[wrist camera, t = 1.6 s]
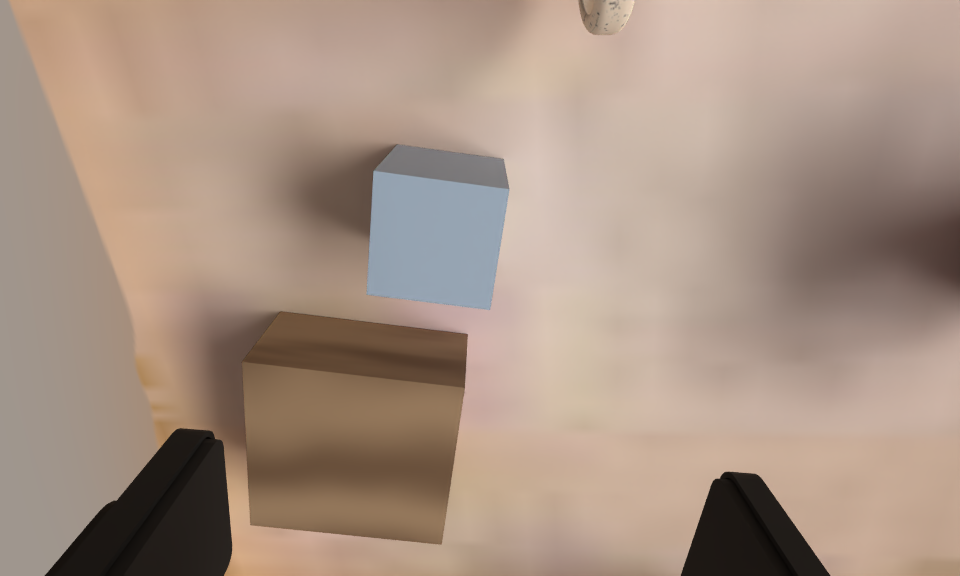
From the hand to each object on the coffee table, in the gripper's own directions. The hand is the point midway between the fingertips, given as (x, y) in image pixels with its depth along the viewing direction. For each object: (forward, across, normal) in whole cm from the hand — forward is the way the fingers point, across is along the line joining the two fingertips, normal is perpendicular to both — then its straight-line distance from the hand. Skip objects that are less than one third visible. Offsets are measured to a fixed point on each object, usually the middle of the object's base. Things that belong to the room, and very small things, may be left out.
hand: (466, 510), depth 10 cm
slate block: (+18, +1, -2) cm, 18 cm away
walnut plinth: (+18, +5, +10) cm, 21 cm away
